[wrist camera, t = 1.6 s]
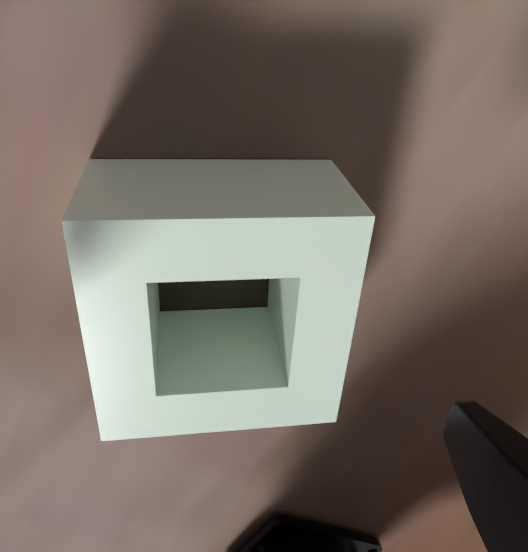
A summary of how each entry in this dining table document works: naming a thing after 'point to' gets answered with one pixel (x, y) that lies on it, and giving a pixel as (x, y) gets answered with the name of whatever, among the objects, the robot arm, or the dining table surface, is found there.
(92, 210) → the collar
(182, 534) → the dining table surface
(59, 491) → the dining table surface
